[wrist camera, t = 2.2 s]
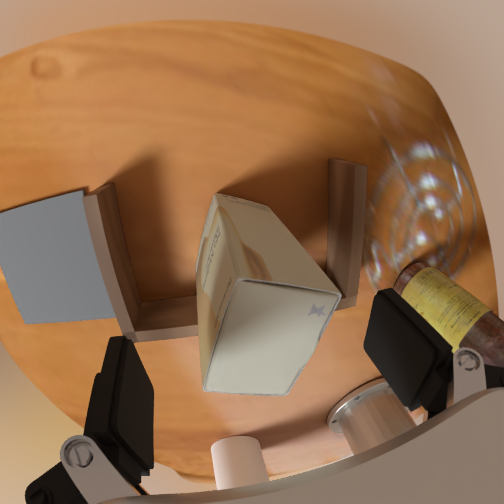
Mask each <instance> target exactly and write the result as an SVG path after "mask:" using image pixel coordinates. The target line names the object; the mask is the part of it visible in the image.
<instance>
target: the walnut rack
mask: <svg viewBox="0 0 504 504" xmlns="http://www.w3.org/2000/svg"><path fill="white" fill-rule="evenodd" d="M328 165H329V205H328V243H327V264H326V275H327V277H328V278H329V279H330V280H331V282H332V283H333V284H334V285H335V286H336V288H337V289H338V290H339V291H340V293H341V294H342V296H341V299H340V301H339V303H338V305H337V307H336V309H335V311H337V310H341V309H345V308H349V307H353V306H356V301H357V294H358V286H359V279H360V270H361V261H362V252H363V241H364V229H365V214H366V195H367V165H363V164H359V163H355V162H351V161H347V160H343V159H328ZM82 200H83V205H84V210H85V214H86V219H87V223H88V227H89V231H90V235H91V239H92V243H93V247H94V250H95V254H96V258H97V261H98V264H99V268H100V271H101V274H102V278H103V281H104V284H105V287H106V290H107V293H108V296H109V299H110V302H111V304H112V307H113V310H114V313H115V315H116V318H117V321H118V323H119V326H120V328H121V331H122V333H123V336H126V337H127V339H131V340H132V341H133V343H135V342H146V341H157V340H166V339H175V338H183V337H191V336H199V332H198V312H197V295H193V296H186V297H178V298H171V299H163V300H155V301H147V302H142V301H141V298H140V294H139V291H138V287H137V284H136V280H135V277H134V273H133V269H132V265H131V261H130V258H129V254H128V249H127V245H126V241H125V237H124V232H123V228H122V223H121V218H120V213H119V208H118V203H117V197H116V192H115V186H114V183H111V184H106V185H102V186H100V187H98V188H97V189H95V190H93V191H92V192H90V193H89V194H87V195H85V196H84V197H82Z"/></svg>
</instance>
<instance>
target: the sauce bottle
mask: <svg viewBox="0 0 504 504" xmlns="http://www.w3.org/2000/svg"><path fill="white" fill-rule="evenodd" d="M393 289H394V290H395V291H396V292H397V293H398V294H399V295H400V296H401V297H402V298H404V299H405V300H406V301H407V302H408V303H409V304H410V305H411V306H412V307H413V308H414V309H415V310H416V311H417V312H418V313H419V314H420V315H421V316H422V317H423V318H424V319H425V320H426V321H427V322H429V323H430V324H431V325H432V326H433V327H434V328H435V329H436V330H437V331H438V332H439V333H440V334H441V335H442V336H443V338H444V339H445V340H446V341H447V342H448V343H449V344H450V345H451V346H452V347H453V349H452V352H453V353H455V351H456V350H458V349H459V348H463V347H465V348H471V349H473V350H475V351H477V352H478V353H479V354H480V355H481V357H482V359H483V362H484V364H487V365H492V366H498V367H503V368H504V321H502V320H501V319H500V318H499V317H497V316H496V315H495V314H494V313H493V311H492V310H491V309H490V308H489V307H487V306H486V305H485V304H483V303H482V302H481V301H480V300H478V299H477V298H476V297H474V296H473V295H472V294H470V293H469V292H468V291H466V290H465V289H464V288H462V287H461V286H460V285H458V284H457V283H455V282H454V281H453V280H451V279H450V278H448V277H447V276H446V275H444V274H443V273H441V272H440V271H439V270H437V269H436V268H433V267H431V266H429V265H428V264H427V263H423V262H418V263H415V264H412V265H410V266H409V267H407V268H406V269H405V270H404V271H403V272H402V273H401V275H400V276H399V277H398V279H397V281H396V283H395V285H394V287H393Z"/></svg>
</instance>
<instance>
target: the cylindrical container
mask: <svg viewBox="0 0 504 504" xmlns="http://www.w3.org/2000/svg"><path fill="white" fill-rule="evenodd" d="M211 452H212V459H213V466H214V473H215V479H216V485H217V490H222V489H229V488H236V487H242V486H248V485H254V484H259V483H264V482H268V481H269V477H268V474H267V470H266V466H265V463H264V459H263V455H262V452H261V448H260V444H259V441H258V440H257V439H255V438H253V437H249V436H233V437H227V438H224V439H221V440H219V441H217V442H215V443H214V444H213V445H212V446H211Z"/></svg>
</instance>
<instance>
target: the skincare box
mask: <svg viewBox="0 0 504 504" xmlns="http://www.w3.org/2000/svg"><path fill="white" fill-rule="evenodd" d="M196 289H197V312H198V332H199V348H200V362H201V374H202V387H203V391H206V392H218V393H228V394H240V395H261V396H285V395H287V394H288V393H289V392H290V390H291V388H292V387H293V385H294V384H295V382H296V380H297V378H298V377H299V375H300V374H301V372H302V370H303V368H304V367H305V365H306V364H307V362H308V361H309V359H310V358H311V356H312V354H313V353H314V351H315V349H316V347H317V344H318V342H319V340H320V338H321V336H322V334H323V332H324V330H325V328H326V327H327V325H328V322H329V321H330V319H331V317H332V315H333V313H334V311H335V309H336V307H337V305H338V303H339V301H340V299H341V296H342V294H341V293H340V291H339V290H338V289H337V288H336V286H335V285H334V284H333V283H332V282H331V280H330V279H329V278H328V277H327V275H326V274H325V273H324V272H323V270H322V269H321V268H320V267H319V266H318V264H317V263H316V262H315V261H314V260H313V258H312V257H311V256H310V255H309V254H308V252H307V251H306V250H305V249H304V247H303V246H302V245H301V244H300V243H299V242H298V240H297V239H296V238H295V237H294V236H293V235H292V233H291V232H290V231H289V230H288V229H287V227H286V226H285V225H284V224H283V223H282V222H281V221H280V219H279V218H278V217H277V216H276V215H275V213H274V212H273V211H272V210H271V209H270V208H269V207H268V206H266V205H263V204H259V203H256V202H253V201H249V200H245V199H242V198H237V197H233V196H229V195H224V194H219V193H215V194H214V196H213V199H212V202H211V205H210V208H209V212H208V215H207V218H206V222H205V226H204V230H203V233H202V238H201V242H200V247H199V252H198V257H197V261H196Z"/></svg>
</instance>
